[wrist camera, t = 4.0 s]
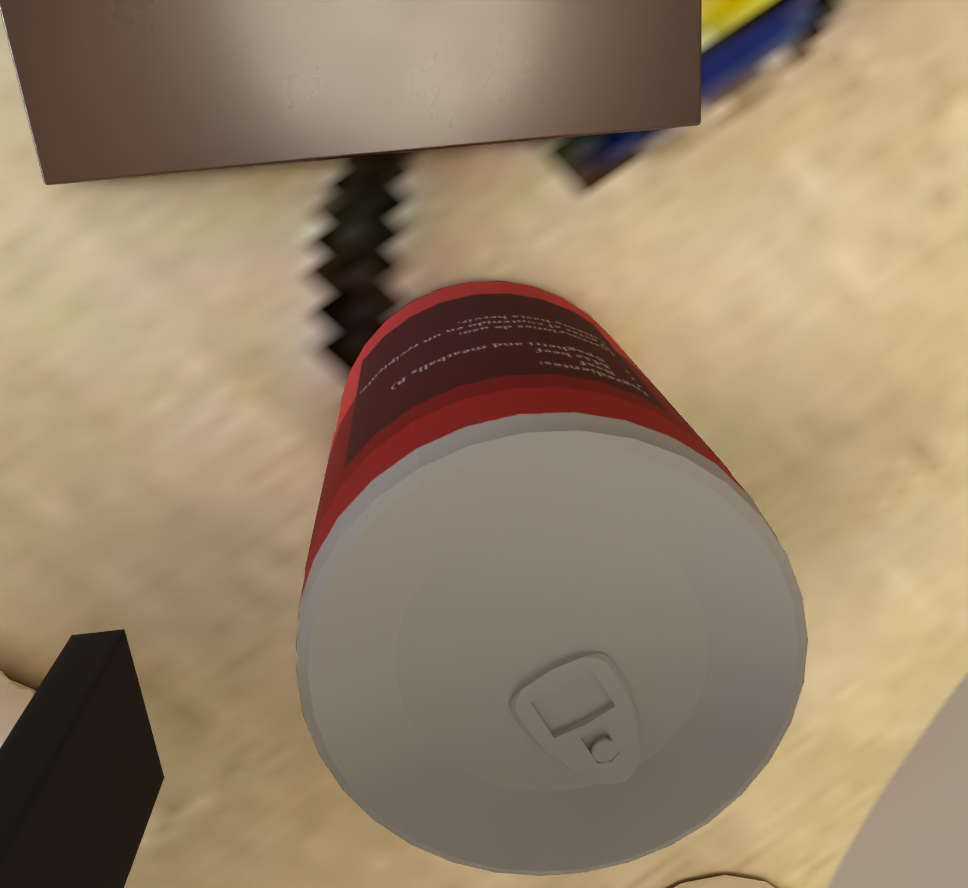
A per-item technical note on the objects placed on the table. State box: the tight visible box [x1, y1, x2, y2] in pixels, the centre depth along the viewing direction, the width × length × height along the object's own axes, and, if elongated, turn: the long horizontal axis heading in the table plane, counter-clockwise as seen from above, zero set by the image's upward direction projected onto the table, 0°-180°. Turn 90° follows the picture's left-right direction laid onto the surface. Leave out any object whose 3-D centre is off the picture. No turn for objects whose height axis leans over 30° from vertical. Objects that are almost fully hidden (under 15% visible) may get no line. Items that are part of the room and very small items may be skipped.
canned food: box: [296, 281, 808, 876], centre depth 18 cm, size 8×8×11 cm
